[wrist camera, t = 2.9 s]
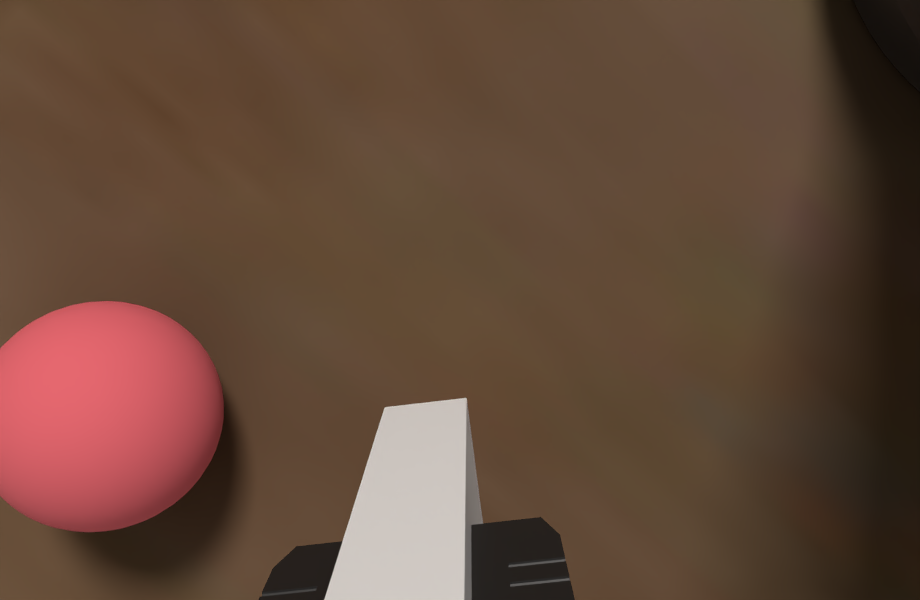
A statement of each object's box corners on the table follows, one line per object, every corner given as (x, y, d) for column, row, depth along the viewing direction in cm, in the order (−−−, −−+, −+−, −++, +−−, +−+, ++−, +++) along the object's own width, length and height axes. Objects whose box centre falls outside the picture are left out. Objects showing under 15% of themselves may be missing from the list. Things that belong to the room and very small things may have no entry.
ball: (231, 270, 22) (142, 318, 16) (267, 459, 23) (196, 567, 18) (34, 294, 22) (-123, 349, 17) (80, 479, 24) (-51, 592, 18)
